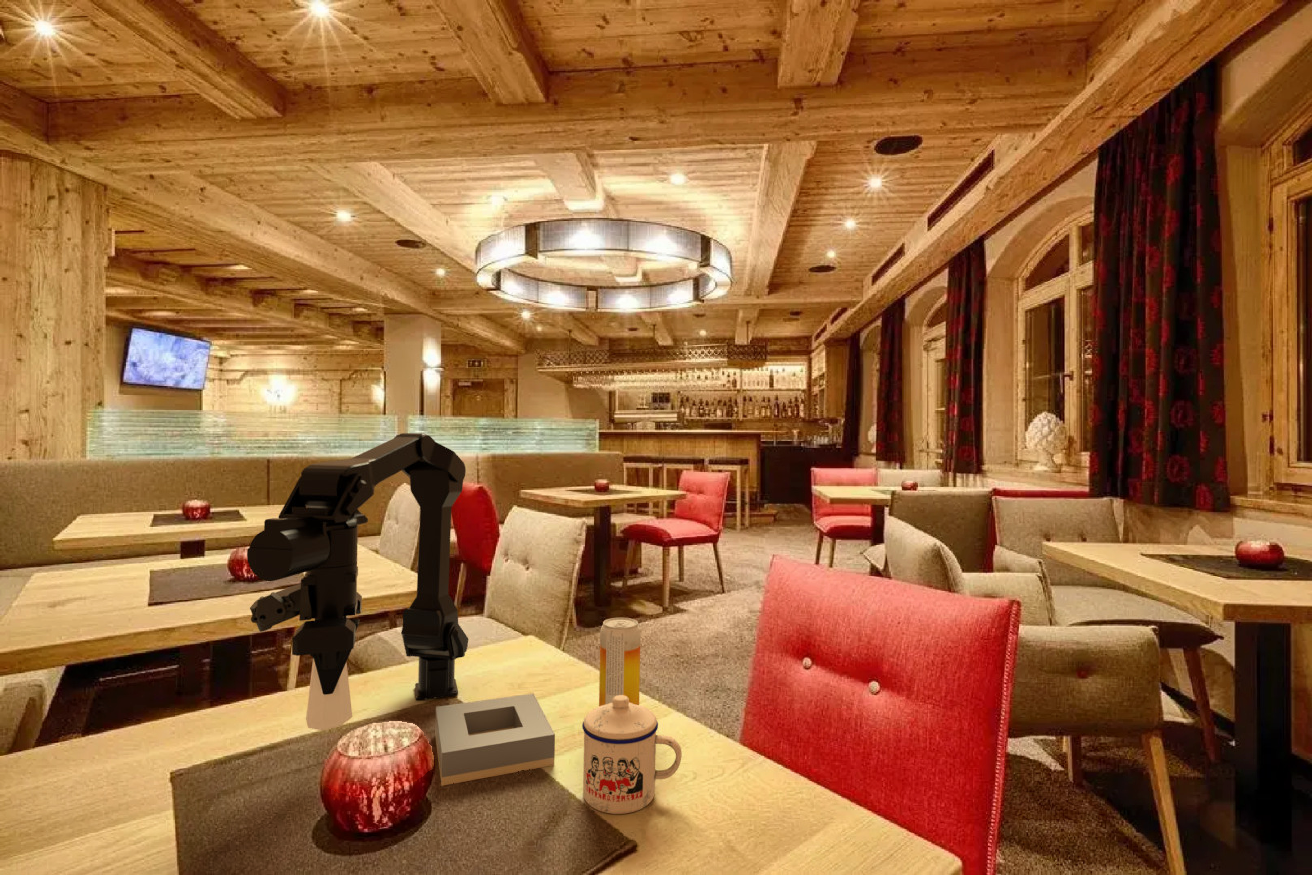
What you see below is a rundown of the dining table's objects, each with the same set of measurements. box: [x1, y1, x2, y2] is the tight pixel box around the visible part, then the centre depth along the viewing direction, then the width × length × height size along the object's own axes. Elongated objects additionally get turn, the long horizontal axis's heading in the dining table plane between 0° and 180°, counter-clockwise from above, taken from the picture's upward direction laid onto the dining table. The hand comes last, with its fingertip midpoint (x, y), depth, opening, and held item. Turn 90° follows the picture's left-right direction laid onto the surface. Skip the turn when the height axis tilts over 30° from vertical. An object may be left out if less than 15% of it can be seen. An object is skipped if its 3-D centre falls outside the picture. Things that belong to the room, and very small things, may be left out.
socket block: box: [434, 692, 556, 787], centre depth 86 cm, size 14×14×4 cm
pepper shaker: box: [305, 658, 353, 731], centre depth 79 cm, size 5×5×11 cm
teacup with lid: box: [582, 695, 682, 815], centre depth 75 cm, size 12×9×12 cm
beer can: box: [598, 617, 642, 707], centre depth 95 cm, size 6×6×15 cm
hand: (329, 687), depth 79 cm, fingers closed on pepper shaker, 4 cm apart
